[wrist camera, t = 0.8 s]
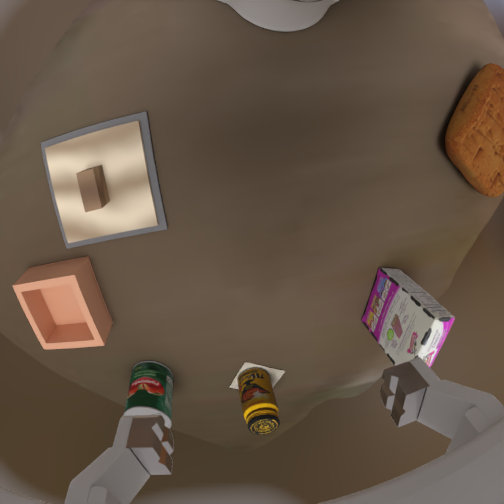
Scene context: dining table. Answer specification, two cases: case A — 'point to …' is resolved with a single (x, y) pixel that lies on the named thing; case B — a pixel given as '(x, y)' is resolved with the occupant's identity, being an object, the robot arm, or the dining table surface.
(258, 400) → the condiment
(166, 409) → the canned tomato
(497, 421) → the robot arm
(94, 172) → the lid
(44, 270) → the rectangular open box
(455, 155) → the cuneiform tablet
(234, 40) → the dining table surface
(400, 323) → the candy bar box
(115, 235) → the mat
